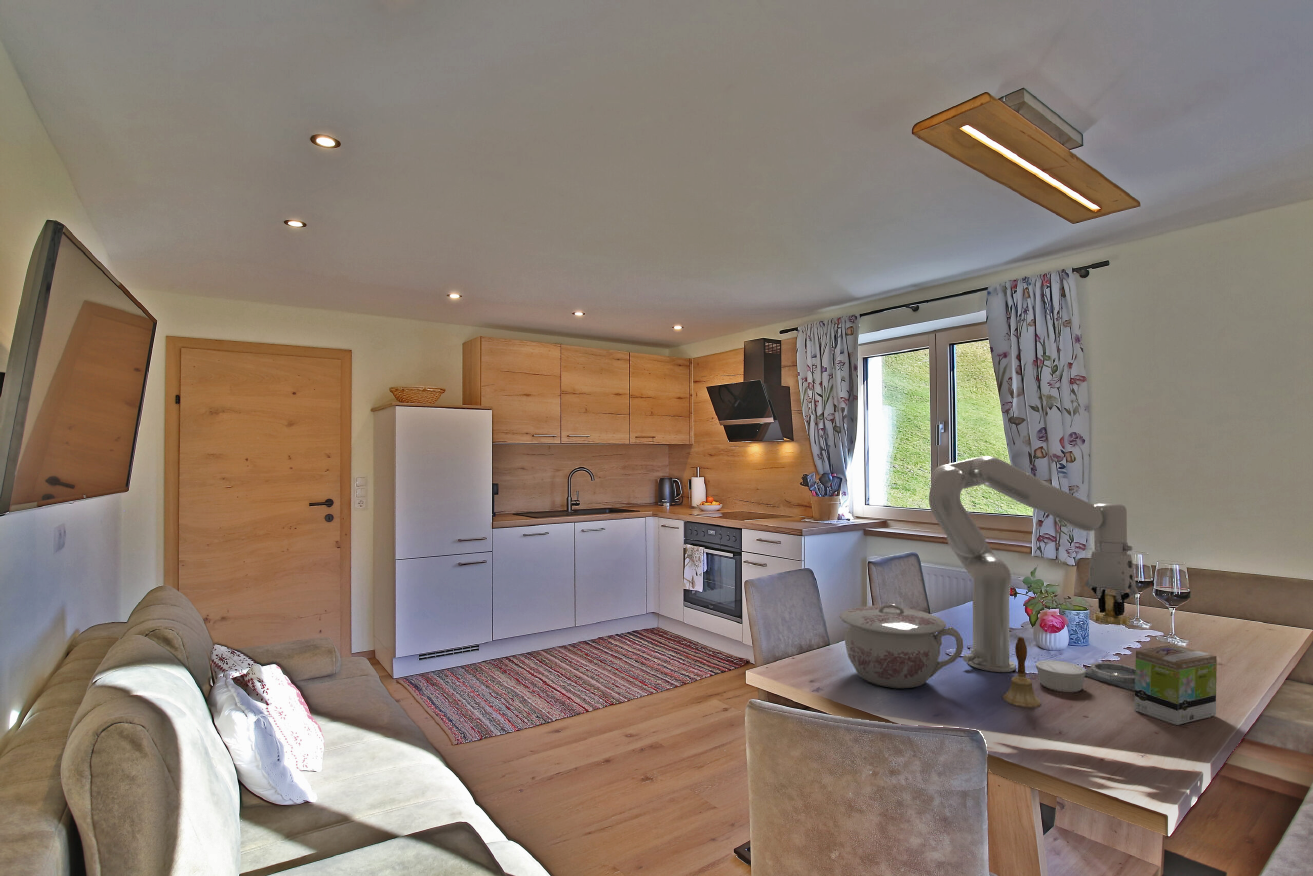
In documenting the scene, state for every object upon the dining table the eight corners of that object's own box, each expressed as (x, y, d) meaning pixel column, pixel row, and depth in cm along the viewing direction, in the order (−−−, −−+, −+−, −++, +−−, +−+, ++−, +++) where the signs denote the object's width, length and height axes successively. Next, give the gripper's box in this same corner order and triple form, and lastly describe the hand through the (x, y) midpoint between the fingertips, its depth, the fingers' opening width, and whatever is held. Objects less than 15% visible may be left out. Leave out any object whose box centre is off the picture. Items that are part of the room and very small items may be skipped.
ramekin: (1026, 682, 178) (1026, 662, 178) (1054, 676, 182) (1054, 657, 182) (1066, 697, 168) (1066, 676, 168) (1095, 690, 172) (1095, 670, 172)
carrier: (1149, 696, 168) (1149, 677, 168) (1081, 675, 183) (1081, 657, 183) (1175, 688, 174) (1175, 669, 174) (1106, 668, 189) (1106, 651, 189)
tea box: (1180, 727, 150) (1179, 662, 150) (1133, 711, 159) (1132, 649, 159) (1218, 716, 156) (1217, 654, 156) (1170, 701, 165) (1170, 642, 165)
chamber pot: (819, 669, 187) (819, 596, 188) (898, 659, 197) (897, 589, 197) (885, 706, 161) (885, 621, 161) (972, 692, 171) (971, 612, 171)
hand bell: (1040, 710, 159) (1040, 644, 159) (1001, 703, 163) (1001, 638, 164) (1041, 699, 166) (1041, 635, 166) (1004, 692, 170) (1004, 630, 171)
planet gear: (1119, 626, 178) (1119, 599, 178) (1087, 619, 185) (1087, 593, 185) (1135, 622, 182) (1135, 595, 182) (1103, 616, 189) (1103, 590, 189)
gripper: (1151, 550, 178) (1152, 618, 178) (1087, 543, 192) (1087, 606, 192) (1136, 553, 174) (1137, 622, 174) (1072, 545, 189) (1073, 609, 189)
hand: (1111, 613), depth 183 cm, fingers closed on planet gear, 3 cm apart
